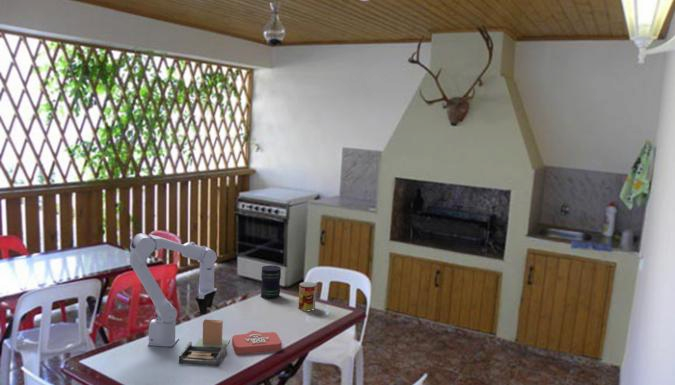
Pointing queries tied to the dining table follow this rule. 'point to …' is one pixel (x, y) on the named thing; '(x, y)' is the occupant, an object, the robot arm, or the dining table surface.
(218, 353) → the rack
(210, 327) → the tall orange plank
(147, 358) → the dining table surface
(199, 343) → the mat
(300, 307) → the canned food
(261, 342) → the red flat case
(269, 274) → the storage jar
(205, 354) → the offcut short
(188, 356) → the block
